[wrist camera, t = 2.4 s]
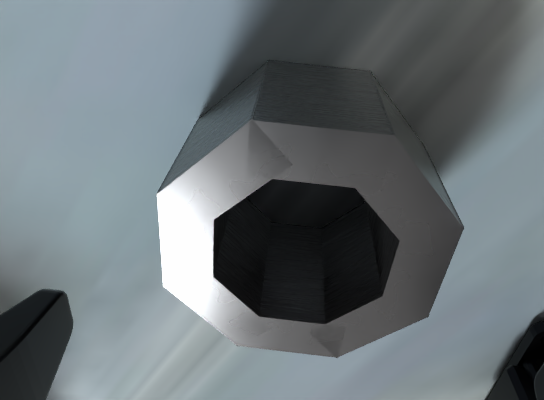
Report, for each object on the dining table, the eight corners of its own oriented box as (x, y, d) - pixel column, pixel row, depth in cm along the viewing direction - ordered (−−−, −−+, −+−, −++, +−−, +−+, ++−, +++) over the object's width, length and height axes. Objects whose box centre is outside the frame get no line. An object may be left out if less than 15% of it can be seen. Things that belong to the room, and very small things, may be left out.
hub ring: (443, 77, 11) (498, 145, 8) (387, 264, 15) (409, 366, 12) (197, 52, 12) (150, 107, 8) (198, 243, 15) (166, 337, 12)
